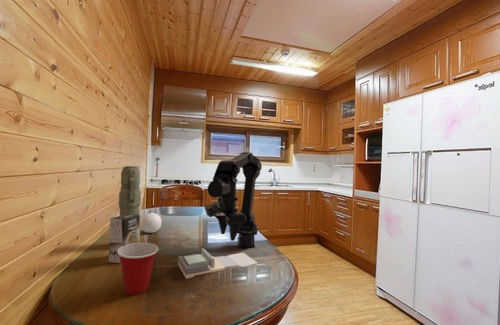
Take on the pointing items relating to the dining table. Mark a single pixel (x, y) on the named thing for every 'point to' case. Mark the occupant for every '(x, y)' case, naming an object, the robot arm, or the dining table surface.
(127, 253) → the plastic cup
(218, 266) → the dock
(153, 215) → the ornament
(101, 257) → the dining table surface
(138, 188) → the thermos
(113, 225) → the coffee box
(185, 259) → the green block on base
